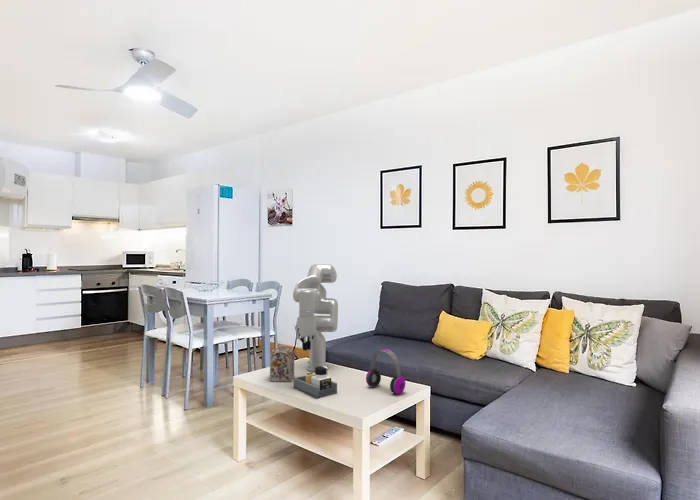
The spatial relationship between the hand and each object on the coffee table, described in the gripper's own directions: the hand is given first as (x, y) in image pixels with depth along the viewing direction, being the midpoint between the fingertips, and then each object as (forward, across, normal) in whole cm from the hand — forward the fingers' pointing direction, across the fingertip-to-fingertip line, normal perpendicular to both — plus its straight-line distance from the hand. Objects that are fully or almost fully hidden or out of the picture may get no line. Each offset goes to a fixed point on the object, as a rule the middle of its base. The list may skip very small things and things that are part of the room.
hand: (306, 349), depth 219 cm
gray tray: (+19, 0, +8) cm, 21 cm away
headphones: (+19, -28, +29) cm, 45 cm away
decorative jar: (+19, +2, -21) cm, 29 cm away
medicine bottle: (+18, 0, +13) cm, 23 cm away
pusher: (+18, 0, +5) cm, 18 cm away
